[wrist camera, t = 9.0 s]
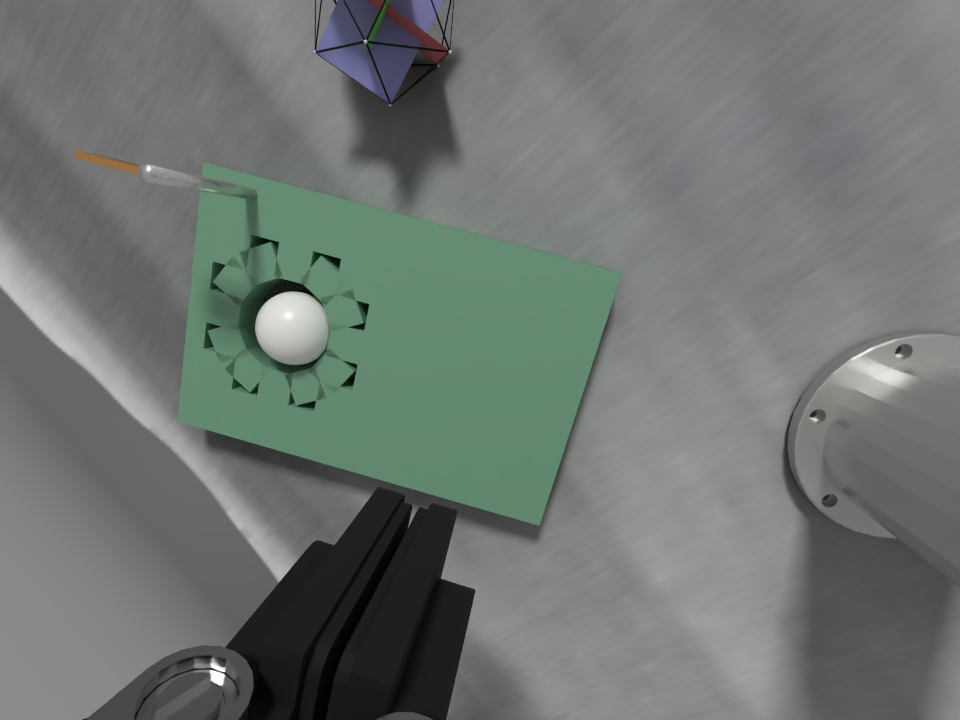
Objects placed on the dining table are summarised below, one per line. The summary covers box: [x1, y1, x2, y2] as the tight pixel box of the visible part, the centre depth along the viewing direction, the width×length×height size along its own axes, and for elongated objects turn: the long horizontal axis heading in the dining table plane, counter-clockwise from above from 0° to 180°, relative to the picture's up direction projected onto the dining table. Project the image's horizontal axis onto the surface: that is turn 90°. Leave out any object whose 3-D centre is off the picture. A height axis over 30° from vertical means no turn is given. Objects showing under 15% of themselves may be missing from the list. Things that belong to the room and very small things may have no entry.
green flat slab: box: [177, 162, 622, 526], centre depth 29 cm, size 24×16×2 cm, turn 76°
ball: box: [255, 291, 331, 365], centre depth 28 cm, size 4×4×4 cm
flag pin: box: [75, 150, 257, 200], centre depth 24 cm, size 4×1×10 cm, turn 76°
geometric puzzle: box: [313, 0, 454, 107], centre depth 23 cm, size 7×7×8 cm
